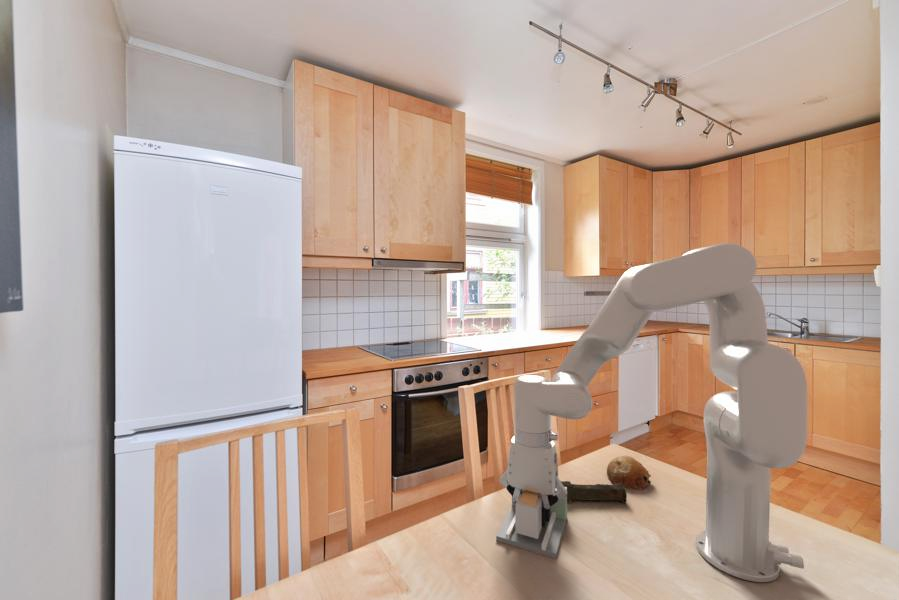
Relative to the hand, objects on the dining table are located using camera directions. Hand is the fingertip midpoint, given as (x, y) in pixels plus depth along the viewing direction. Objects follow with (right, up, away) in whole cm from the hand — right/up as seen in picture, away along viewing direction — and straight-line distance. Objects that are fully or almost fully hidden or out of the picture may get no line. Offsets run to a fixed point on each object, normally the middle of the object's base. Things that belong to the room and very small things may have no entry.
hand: (532, 519), depth 79 cm
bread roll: (+31, -2, +21) cm, 37 cm away
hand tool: (+16, -3, +11) cm, 20 cm away
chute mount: (0, -3, +1) cm, 3 cm away
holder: (0, 0, 0) cm, 0 cm away
